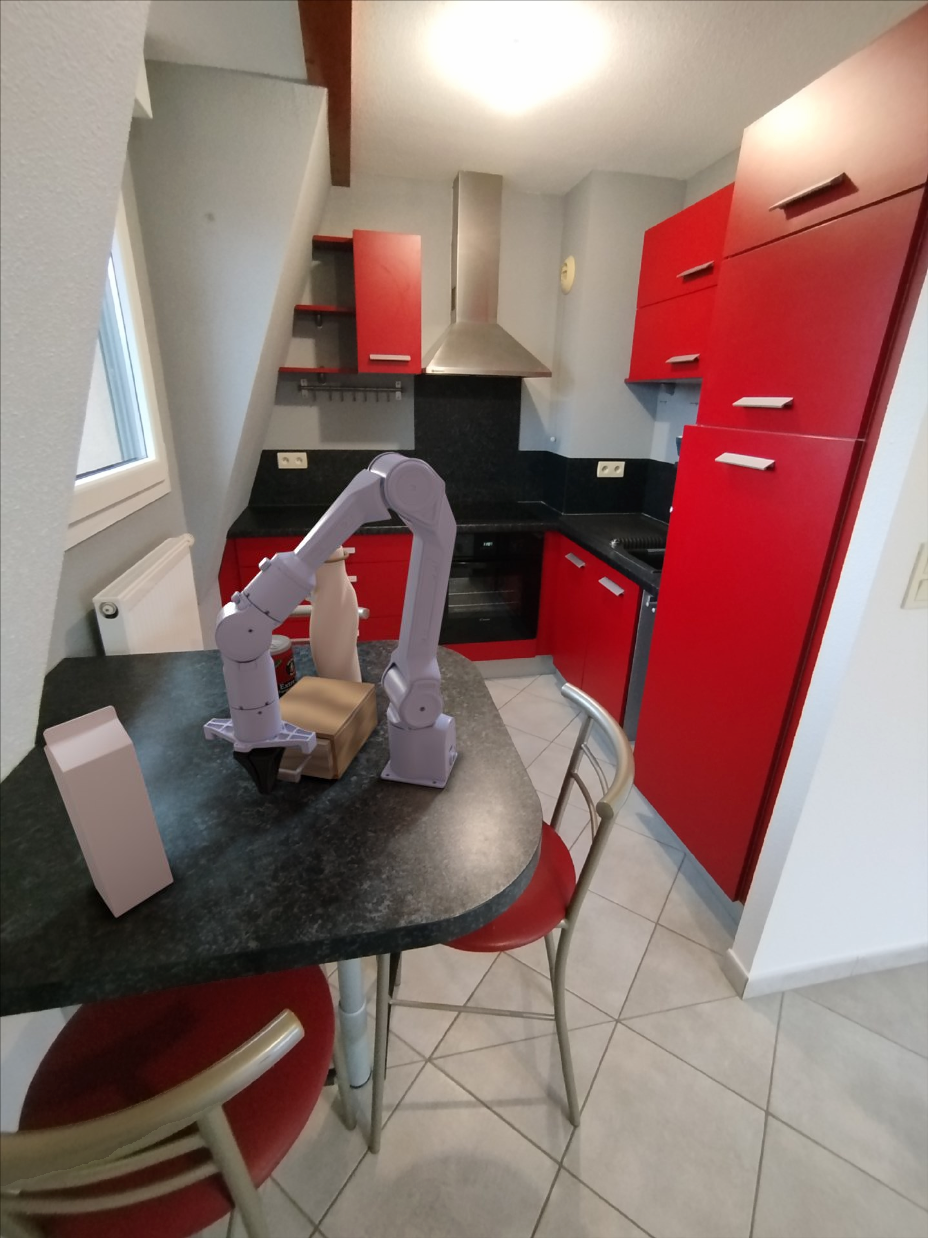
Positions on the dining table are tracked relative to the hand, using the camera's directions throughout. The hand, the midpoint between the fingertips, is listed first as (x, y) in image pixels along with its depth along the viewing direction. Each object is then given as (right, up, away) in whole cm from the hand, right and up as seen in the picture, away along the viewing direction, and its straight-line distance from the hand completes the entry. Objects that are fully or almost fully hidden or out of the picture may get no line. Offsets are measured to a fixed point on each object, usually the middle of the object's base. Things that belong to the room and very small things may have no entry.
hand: (268, 789), depth 70 cm
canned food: (-8, +8, +27) cm, 30 cm away
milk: (-11, -8, -10) cm, 17 cm away
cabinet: (+4, +3, +14) cm, 15 cm away
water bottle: (+2, +10, +32) cm, 33 cm away
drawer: (+2, +2, +10) cm, 10 cm away
